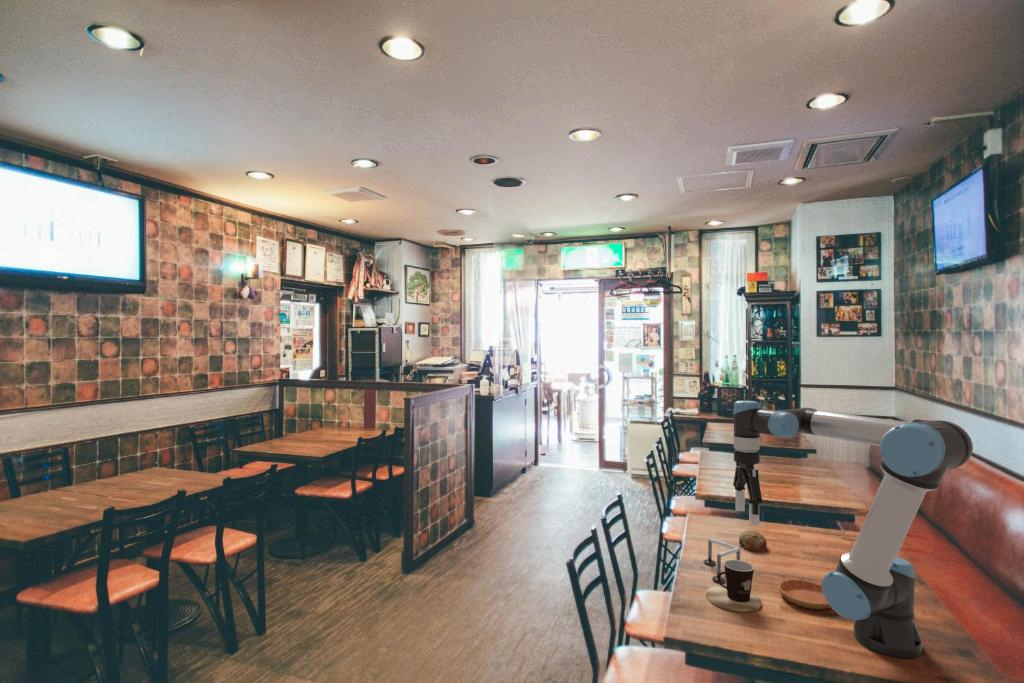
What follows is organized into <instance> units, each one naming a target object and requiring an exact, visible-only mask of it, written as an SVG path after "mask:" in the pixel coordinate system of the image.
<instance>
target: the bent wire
mask: <svg viewBox="0 0 1024 683" xmlns="http://www.w3.org/2000/svg"><path fill="white" fill-rule="evenodd" d="M707 542H708V545H707V546H708V547H707V551H708V552H707V554H708V555H707V559H704V560H703V563H704V564H705V565H706V564H707V565H706V566H710V565H714V566H716V575H714V576H712V579H711V580H712V581H713V582H714V583H716V582H718V580H717V578H718V575H719V574H720V573H721V572H722V568H721V567H722V557H725V556H728V555H731V554H735V553H736V555H735V556H736V559H735V560H740V561H741V549H740V546H736V545H733V544H730V543H728V542H724V541H721V540H717V539H714V538H712V537H711V538H709V539H708V540H707ZM713 544H716V545H719V546H722V547H725V548H729V549H727V550H724V551H722V552H718V553H717V555H716V561H715V560H713V557H712V556H713V555H712V554H713V552H712V551H713V549H712V548H713V547H712V546H713ZM719 580H720V582H721V584H724V582H725V583H726V578H725V577H723V576H722V575H721V576H720V579H719Z"/></svg>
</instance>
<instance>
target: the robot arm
mask: <svg viewBox="0 0 1024 683" xmlns="http://www.w3.org/2000/svg"><path fill="white" fill-rule="evenodd" d="M733 404H734V405H733V412H732V413H733V448H734V450H733V461H734V463H735V471H734V478H733V482H732V486H733V488H734V490H735V511H736V512H745V511H746V496H745V495H746V494H745V493H746V487H747V492H748V496H749V500H748V502H747V503H748V505H749V506H748V516H749V517H748V519H749V521H748V524H749V526H752V525H753V526H760V504H763V498H762V490H761V485H760V478H759V470H758V469H755V465H758V464H760V463H761V454H760V451H759V450H760V448H761V446H760V444H761V443H762V440H761V439H760V436H761V435H766V436H773V437H777V438H780V439H781V438H782V439H783V438H784V439H790V438H793V437H794V436H795V435H797V434H804V435H805V434H806V435H812V436H817V437H818V436H819V437H825V438H830V439H836V440H842V441H845V442H846V441H848V442H854V443H858V444H864V445H869V446H874V447H875V446H876V447H879V455H881V460H882V461H881V463H880V469H881V470H882V472H883V474H884V475H883V478H882V479H881V482H880V485H879V487H878V489H877V492H876V494H875V496H874V499H873V501H872V502H871V506H870V507H869V510H868V513H867V514H866V517H865V520H864V521H863V524H862V526H861V529H860V530H859V533H858V536H857V537H856V539H855V542H854V544H853V547H852V548H851V551H848V552H844V553H842V554H841V556H840V559H839V561H838V562H837V565H836V568H835V569H834V570H832V571H828V573H826V574H825V575H824V576H823V578H822V579H821V585H822V591H823V594H824V596H825V597H826V601H827V602H828V604H829V605H830V606H831V607H830V608H831V609H832V610H833V611H834V612H835V613H836V614H838V615H839V616H841V617H843V618H845V619H847V620H850V621H854V623H853V636H854V638H855V639H856V640H857V642H859V643H861V644H862V645H863V646H865V647H866V648H868V649H870V650H872V651H875V652H877V653H880V654H882V655H885V654H886V656H889V657H895V658H900V659H913V658H918V657H920V656H921V655H922V652H923V643H922V639H921V637H920V636H921V635H920V634H919V630H918V627H917V625H916V622H915V580H916V576H915V568H914V566H913V565H912V563H911V562H909V561H908V560H905V559H903V558H901V557H898V556H897V555H898V553H899V551H900V549H901V547H902V546H903V543H904V541H905V538H906V537H907V535H908V532H909V530H910V528H911V526H912V523H913V521H914V519H915V517H916V515H917V513H918V511H919V509H920V506H921V505H922V503H923V500H924V498H925V496H926V494H927V493H928V492H931V491H936V490H937V489H938V488H939V486H940V484H941V482H942V480H943V478H944V475H945V473H946V472H947V471H949V470H952V469H957V468H959V467H961V466H963V465H965V464H966V463H967V462H968V461H969V460H970V459H971V457H972V455H973V450H974V444H973V442H972V441H973V440H972V438H971V437H970V435H969V434H968V432H967V431H966V430H965V429H964V428H962V427H961V426H960V425H958V424H957V423H953V422H951V421H947V420H940V419H939V420H929V419H928V420H926V419H917V418H914V419H911V420H910V421H902V420H896V419H894V420H893V419H886V418H878V417H871V416H864V415H855V414H848V413H840V412H831V411H824V410H818V409H816V408H813V407H801V408H793V409H779V410H777V409H776V410H775V409H773V410H771V409H762V408H761V407H760V402H758V401H756V400H737V401H735V402H734V403H733Z"/></svg>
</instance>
